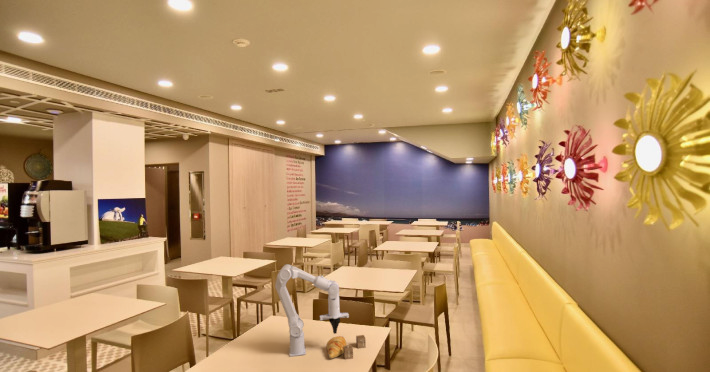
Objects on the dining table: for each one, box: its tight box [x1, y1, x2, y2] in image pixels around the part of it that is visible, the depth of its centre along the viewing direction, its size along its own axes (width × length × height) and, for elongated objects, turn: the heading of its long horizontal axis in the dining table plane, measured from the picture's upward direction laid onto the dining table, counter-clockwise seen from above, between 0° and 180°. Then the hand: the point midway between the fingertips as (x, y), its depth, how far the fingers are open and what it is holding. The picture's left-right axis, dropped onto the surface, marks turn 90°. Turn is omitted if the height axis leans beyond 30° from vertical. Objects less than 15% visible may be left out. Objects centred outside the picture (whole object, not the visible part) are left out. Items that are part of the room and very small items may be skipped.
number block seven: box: [355, 334, 366, 349], centre depth 190 cm, size 4×4×5 cm
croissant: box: [326, 335, 347, 359], centre depth 186 cm, size 21×10×8 cm, turn 168°
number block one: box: [343, 344, 354, 361], centre depth 178 cm, size 4×4×5 cm
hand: (334, 332), depth 186 cm, fingers closed
